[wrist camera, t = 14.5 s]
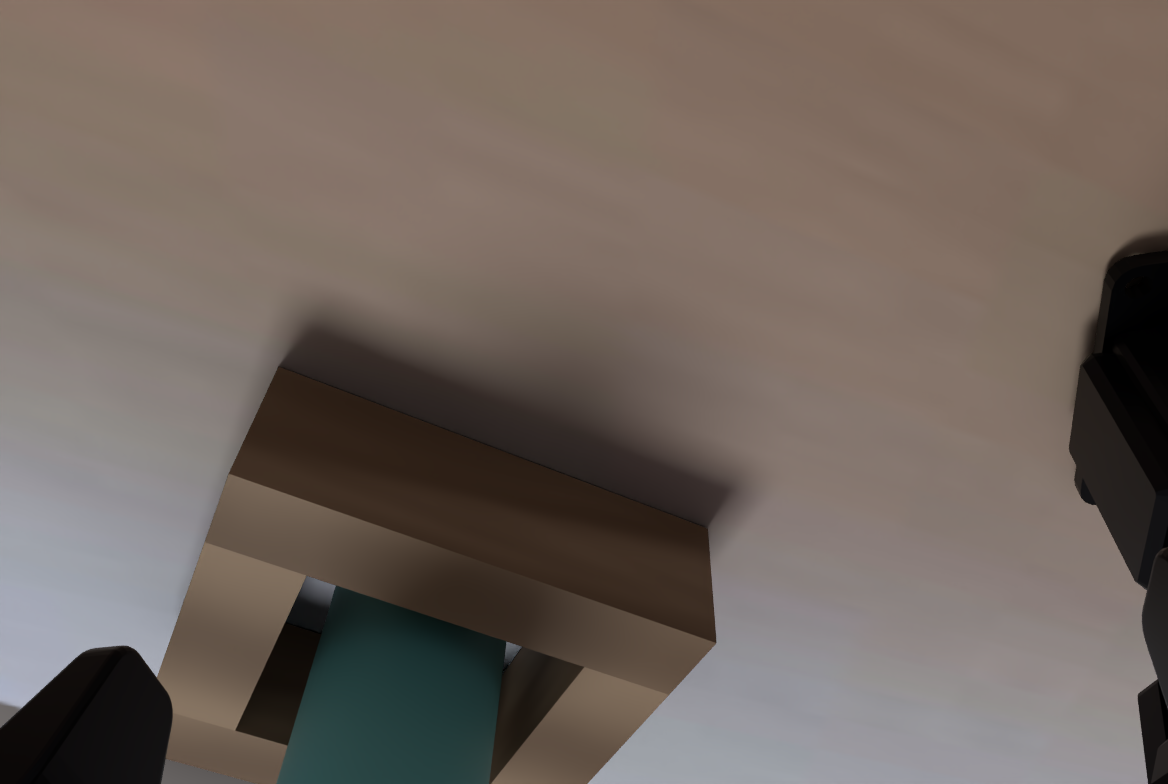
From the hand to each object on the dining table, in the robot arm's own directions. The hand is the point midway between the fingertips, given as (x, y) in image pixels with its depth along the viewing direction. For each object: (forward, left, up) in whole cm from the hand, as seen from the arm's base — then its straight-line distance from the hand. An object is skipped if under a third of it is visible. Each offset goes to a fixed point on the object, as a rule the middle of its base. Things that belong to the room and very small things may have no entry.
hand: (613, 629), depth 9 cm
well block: (+7, +13, -12) cm, 19 cm away
